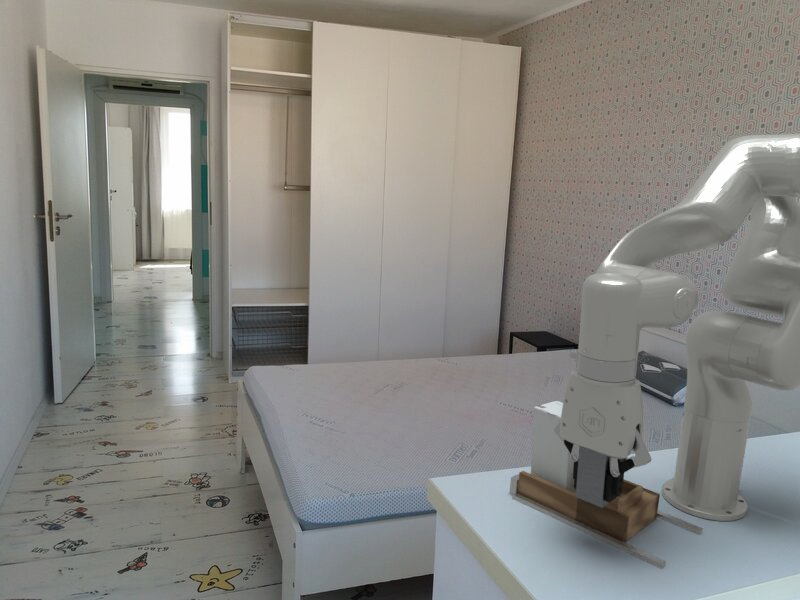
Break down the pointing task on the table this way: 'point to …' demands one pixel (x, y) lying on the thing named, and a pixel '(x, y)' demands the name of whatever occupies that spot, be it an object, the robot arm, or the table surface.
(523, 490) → the cradle
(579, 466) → the gray rectangular block
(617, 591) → the table surface
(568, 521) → the rail
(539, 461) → the skincare box
